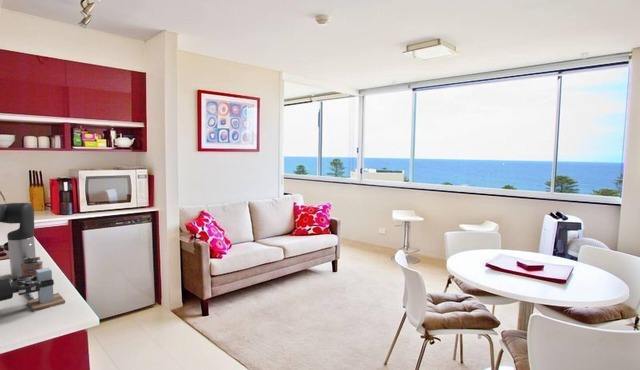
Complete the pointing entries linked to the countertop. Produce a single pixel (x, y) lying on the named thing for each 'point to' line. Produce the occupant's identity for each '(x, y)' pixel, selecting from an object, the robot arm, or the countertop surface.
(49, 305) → the board
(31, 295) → the channel
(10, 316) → the countertop surface
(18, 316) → the countertop surface
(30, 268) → the lighter
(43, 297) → the block
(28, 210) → the robot arm
